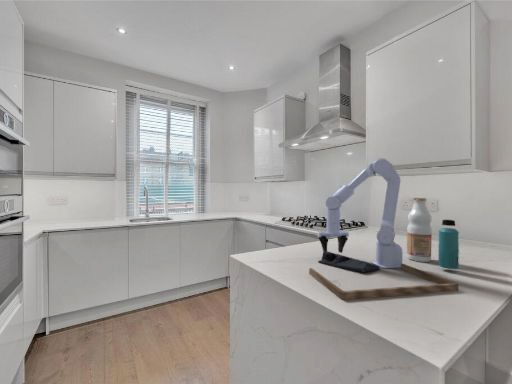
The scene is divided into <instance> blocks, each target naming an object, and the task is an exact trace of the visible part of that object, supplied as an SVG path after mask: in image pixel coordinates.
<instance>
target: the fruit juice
mask: <svg viewBox="0 0 512 384" xmlns="http://www.w3.org/2000/svg"><path fill="white" fill-rule="evenodd" d="M426 203H427V198H426V197H413V205H412V208H411V210H410V212H409V213H408V215H407V221H408V225H407V226H406V227H407V229H406V258H407V259H408V260H411V261H414V262H419V263H421V262H422V263H428V262H431V260H432V227H431V223H432V215H431V213H430V212H429V210H428V208H427V204H426Z"/></svg>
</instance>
